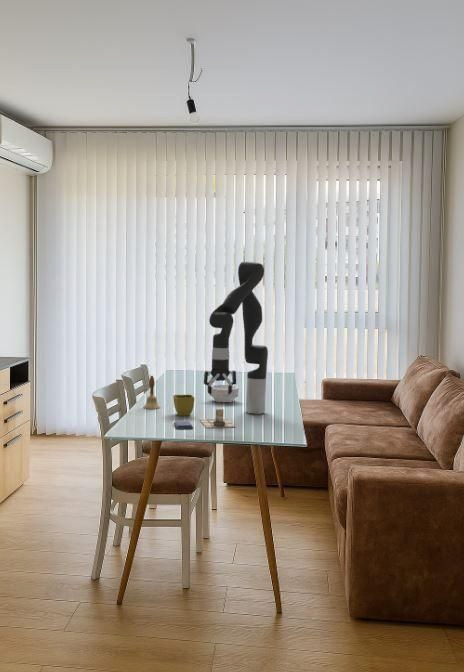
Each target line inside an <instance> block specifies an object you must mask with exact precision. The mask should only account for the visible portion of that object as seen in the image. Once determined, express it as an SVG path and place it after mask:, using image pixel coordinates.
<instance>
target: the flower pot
mask: <svg viewBox="0 0 464 672" xmlns="http://www.w3.org/2000/svg"><path fill="white" fill-rule="evenodd" d="M195 399H196V398H195V396H194V395H192V394H173V405H174V408H175V411H176V414H177V415H178V416H179V417H182V416H183V417H185V416H190V415H192V412H193V411H194V404H195Z"/></svg>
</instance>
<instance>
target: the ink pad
mask: <svg viewBox="0 0 464 672" xmlns="http://www.w3.org/2000/svg"><path fill="white" fill-rule="evenodd" d="M173 425H174V427H175V429H176V430H193V429H194V426H193V425H192V423H191V421H188V420H187V421H186V420H185V421H183V420H179V421H176V420H175V421H174V422H173Z"/></svg>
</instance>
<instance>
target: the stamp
mask: <svg viewBox="0 0 464 672" xmlns="http://www.w3.org/2000/svg"><path fill="white" fill-rule="evenodd" d="M215 419H216V421H214V426H225V421H223V419H224V408H216V409H215Z"/></svg>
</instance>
